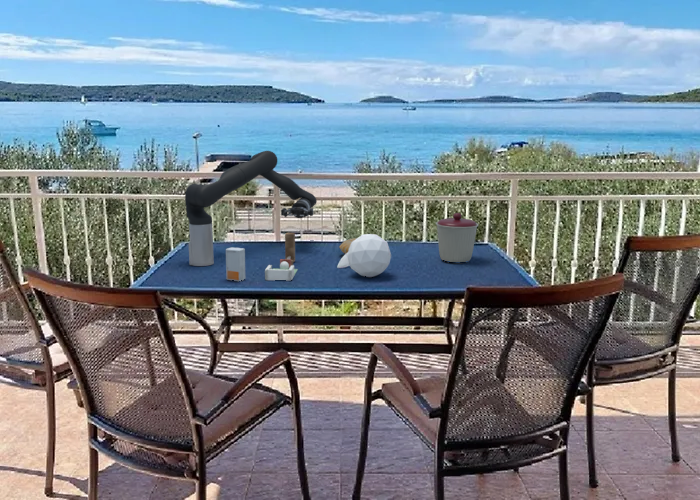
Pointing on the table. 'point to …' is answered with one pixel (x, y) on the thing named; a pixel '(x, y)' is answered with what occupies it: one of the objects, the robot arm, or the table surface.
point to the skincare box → (235, 264)
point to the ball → (284, 265)
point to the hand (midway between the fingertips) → (294, 214)
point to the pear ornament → (367, 255)
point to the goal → (279, 274)
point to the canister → (456, 238)
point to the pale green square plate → (294, 270)
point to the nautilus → (346, 245)
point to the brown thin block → (289, 248)
